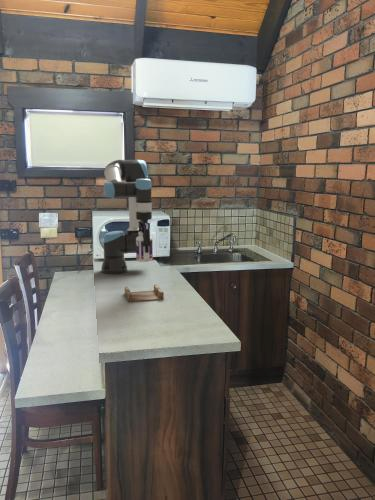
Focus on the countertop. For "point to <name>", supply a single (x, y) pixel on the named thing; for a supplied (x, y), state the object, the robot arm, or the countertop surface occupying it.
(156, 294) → the cradle
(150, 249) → the pill bottle
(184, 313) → the countertop surface
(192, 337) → the countertop surface
